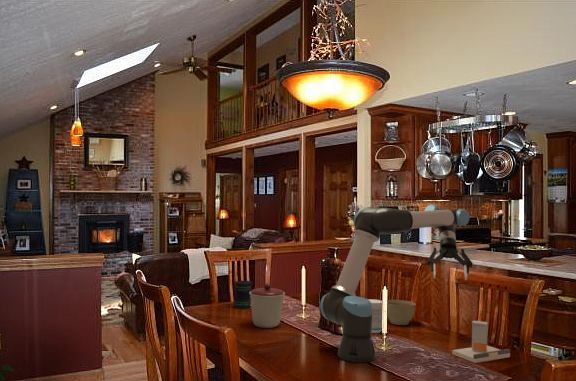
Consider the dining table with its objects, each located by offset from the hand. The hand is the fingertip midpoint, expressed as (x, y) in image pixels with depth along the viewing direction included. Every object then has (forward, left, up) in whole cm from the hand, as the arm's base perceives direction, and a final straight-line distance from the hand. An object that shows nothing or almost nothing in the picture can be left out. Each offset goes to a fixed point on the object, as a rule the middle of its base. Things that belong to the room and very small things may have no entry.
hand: (450, 277), depth 213 cm
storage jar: (-63, +101, -30) cm, 122 cm away
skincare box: (0, -17, -28) cm, 33 cm away
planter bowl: (+2, +38, -30) cm, 48 cm away
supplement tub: (-21, +30, -30) cm, 47 cm away
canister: (-66, +58, -30) cm, 92 cm away
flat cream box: (-1, -18, -30) cm, 35 cm away
